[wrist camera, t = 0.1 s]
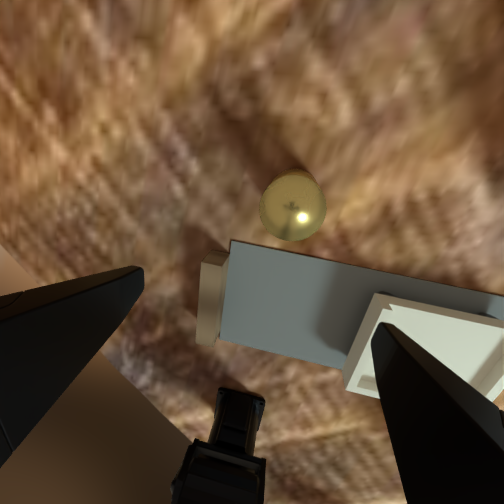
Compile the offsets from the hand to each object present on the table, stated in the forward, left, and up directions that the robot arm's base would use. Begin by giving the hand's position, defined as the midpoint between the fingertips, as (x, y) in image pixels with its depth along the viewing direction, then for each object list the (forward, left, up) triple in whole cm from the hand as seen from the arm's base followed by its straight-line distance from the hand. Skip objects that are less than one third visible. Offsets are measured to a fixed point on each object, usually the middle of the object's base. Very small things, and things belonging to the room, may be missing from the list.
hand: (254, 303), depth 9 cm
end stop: (-10, +5, -15) cm, 19 cm away
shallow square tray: (-10, -16, -15) cm, 24 cm away
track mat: (-10, -10, -15) cm, 21 cm away
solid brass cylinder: (+2, -1, -15) cm, 15 cm away
